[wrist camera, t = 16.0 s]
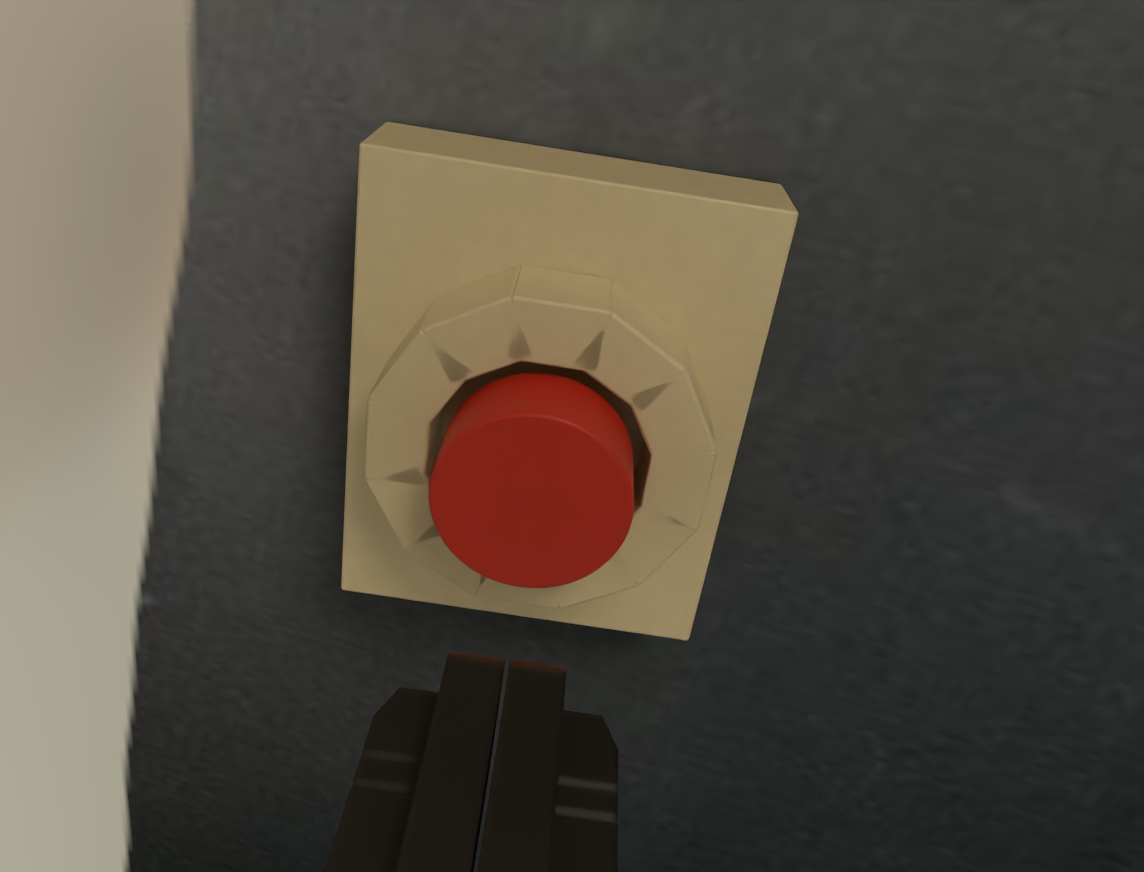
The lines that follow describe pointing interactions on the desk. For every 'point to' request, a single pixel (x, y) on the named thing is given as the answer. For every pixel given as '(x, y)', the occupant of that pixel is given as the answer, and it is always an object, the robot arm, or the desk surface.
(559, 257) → the button box
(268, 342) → the desk surface
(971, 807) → the desk surface
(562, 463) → the red button
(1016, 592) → the desk surface
